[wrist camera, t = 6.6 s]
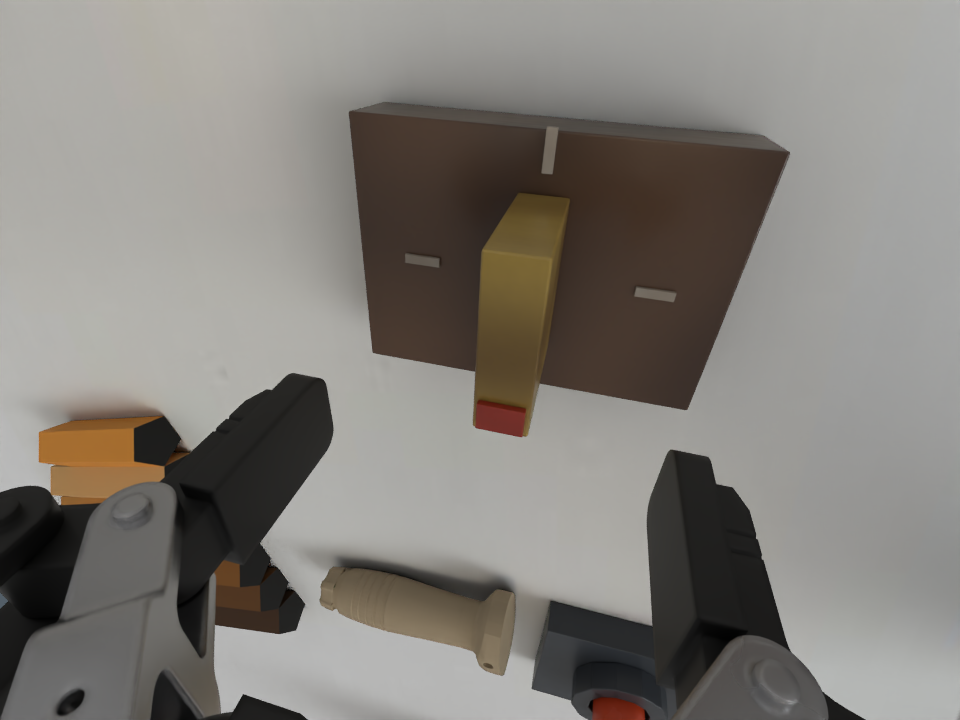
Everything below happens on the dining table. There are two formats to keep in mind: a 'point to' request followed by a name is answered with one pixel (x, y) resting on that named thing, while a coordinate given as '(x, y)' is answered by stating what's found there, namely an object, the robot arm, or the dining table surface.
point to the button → (616, 710)
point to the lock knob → (517, 311)
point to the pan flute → (149, 458)
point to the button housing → (599, 662)
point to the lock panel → (587, 242)
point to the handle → (425, 612)
